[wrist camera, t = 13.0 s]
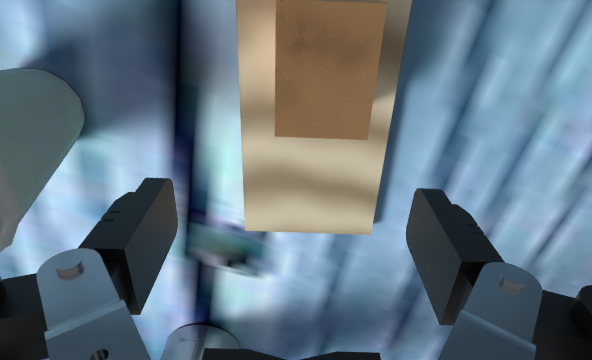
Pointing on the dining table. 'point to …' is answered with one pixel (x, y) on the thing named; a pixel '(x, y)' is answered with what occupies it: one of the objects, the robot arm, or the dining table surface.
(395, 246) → the dining table surface
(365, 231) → the board
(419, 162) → the dining table surface
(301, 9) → the cardboard box
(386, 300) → the dining table surface
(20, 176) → the disposable coffee cup
